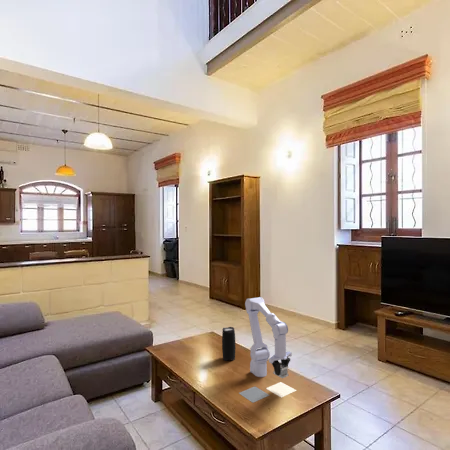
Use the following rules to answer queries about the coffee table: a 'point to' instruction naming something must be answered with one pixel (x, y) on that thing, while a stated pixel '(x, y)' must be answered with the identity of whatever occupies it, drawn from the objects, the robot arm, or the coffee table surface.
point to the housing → (283, 371)
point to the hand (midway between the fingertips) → (280, 373)
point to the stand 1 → (254, 394)
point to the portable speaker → (228, 343)
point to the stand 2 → (281, 389)
